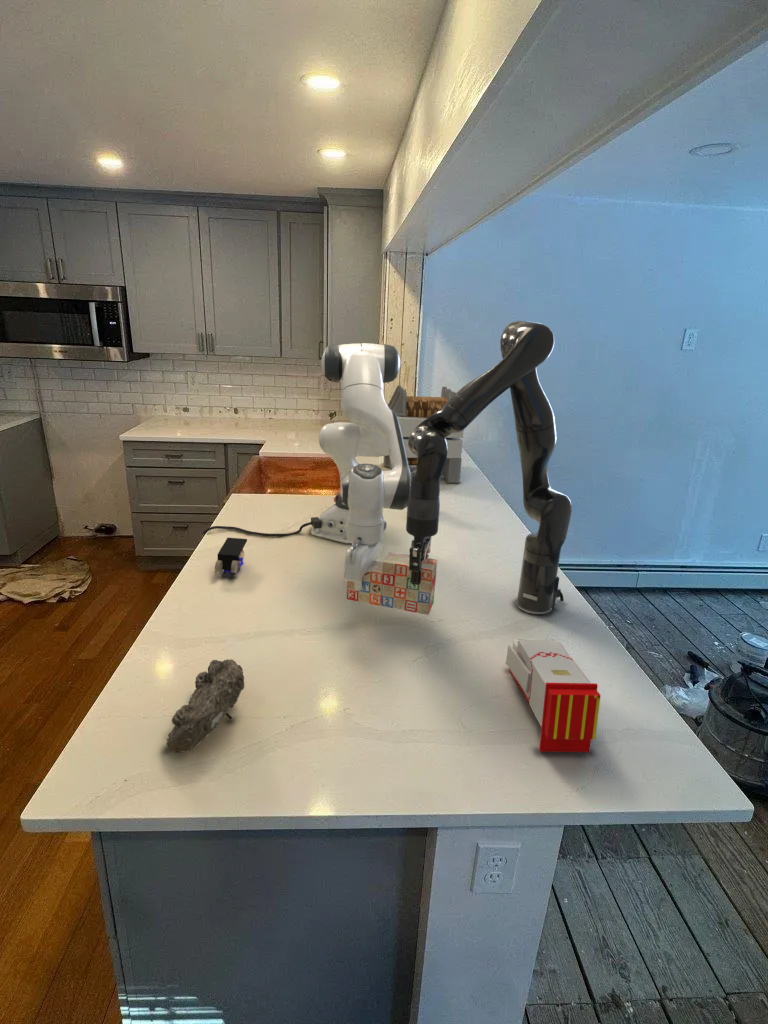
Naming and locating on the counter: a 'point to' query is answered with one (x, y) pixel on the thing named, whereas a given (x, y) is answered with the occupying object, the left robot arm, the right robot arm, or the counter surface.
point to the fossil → (206, 705)
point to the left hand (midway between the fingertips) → (363, 582)
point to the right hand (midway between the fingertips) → (418, 577)
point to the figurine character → (230, 556)
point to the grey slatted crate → (416, 412)
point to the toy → (556, 694)
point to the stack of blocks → (396, 585)
